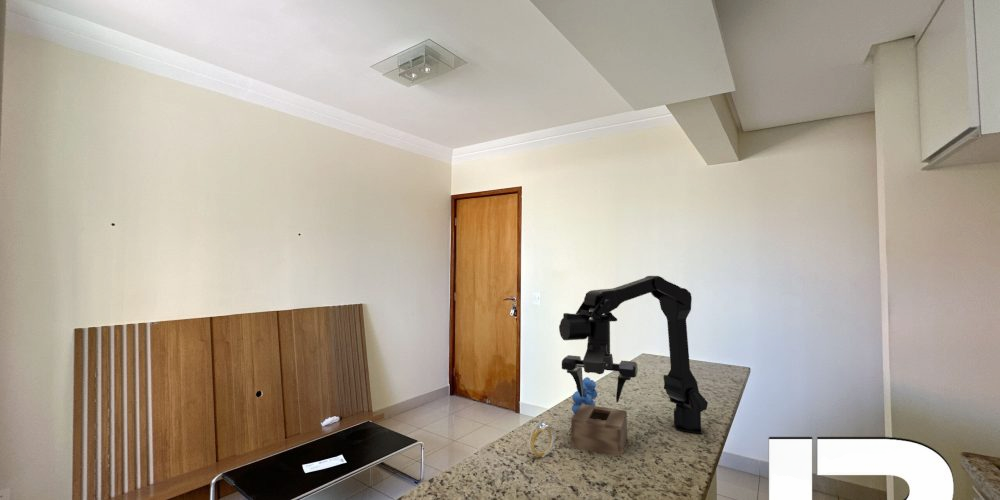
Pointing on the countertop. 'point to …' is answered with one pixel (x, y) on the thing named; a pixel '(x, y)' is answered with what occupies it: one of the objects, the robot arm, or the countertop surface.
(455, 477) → the countertop surface
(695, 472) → the countertop surface
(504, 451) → the countertop surface
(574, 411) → the grapes
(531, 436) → the ring
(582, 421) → the box
